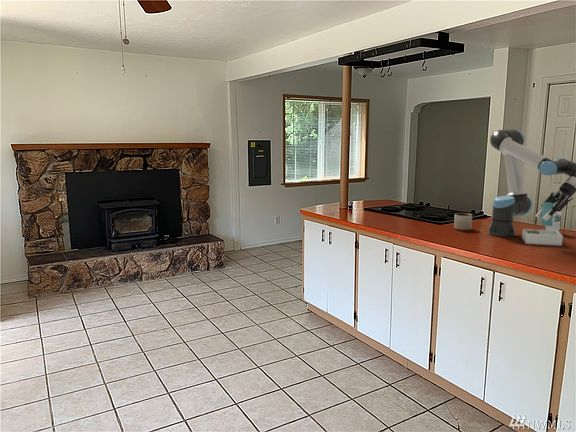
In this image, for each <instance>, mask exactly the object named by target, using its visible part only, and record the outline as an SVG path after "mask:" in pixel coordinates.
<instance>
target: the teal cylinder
mask: <svg viewBox="0 0 576 432" xmlns="http://www.w3.org/2000/svg"><path fill="white" fill-rule="evenodd" d="M542 203H543V202H542ZM541 207H542V206H541ZM552 207H554V204H553V203H549V202H545V203H543V207H542V208H541V209H542V217H541V223H540V224H541V225H542V226H545V227H546V226H551V225H552V218H553V215H552V216H551V217H550V218H549V219H548V220H547V221H545V220H544V219H543V217H544V216H545V214H546V213H547V212H548V211H549V210H550V209H552ZM552 210H553V209H552Z"/></svg>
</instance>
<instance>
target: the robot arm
mask: <svg viewBox="0 0 576 432" xmlns="http://www.w3.org/2000/svg"><path fill="white" fill-rule="evenodd" d="M489 138H490V139H489V143H490V145H491V147H492V148H494V149H495V150H497V151H499V152H501V154H503V156H504V165H505V171H506V172H505V173H506V180H507V181H506V182H507V190H508V193H507V194H506V195H500V196H497V197H495V198H493V202H492V215H491V223H490V225H489V228H488V230H487V234H488V235H490V236H494V237H501V238H503V237H504V238H511V237H515V236H516V228H515V226H514V217H517V216H518V217H519V216H525V215H527V214H529V213H530V212H531V211H532V209H533V200H532V199H531V198H530V197H529V196H528V192H527V191H525V187H524V180H523V171H522V163H521V161H522V162H524V163H525V164H527V165H529V166H531V167H533V168H535V169H537V170H539V173H540V174H541V175H543V176H553V175H554V176H555V175H566V176H568V178H566V179H565V180H564V182H563V183H562V184H561V185H560V186H559V188H558V189H559V190H557V191H556V192H555V193H554V192H551V193H550V195H549V196H548V197H547V198H546V199H544V201H543V202H542V203H541V204H540V206H541V207H543V203H545V202H549V203H553V207H552V209H553V210H552V209H550V210H549V211H548V212H547V213H546V214H545V216H544V217H543V219H544V220H545V221H547V220H548V219H549V218H550V217H551V216H552V215H553V214H554V213H555V212H557V211H559V212H560V211H561V210H563V209H564V208H565V207H566V206H567V205H568V204H569V203H570V201H572V200H573V199H574V198H573V197H572V196H573V195H574V194H575V193H576V162H573V161H571V160H567V159H566V158H562V157H558V158H556V159H555V160H552V159H550V158H548V157H547V156H544V155H542V154H540V153H538V152H537V151H534V150H533V149H531V148H529V147H526V146H525V145H524V144H525V141H526V140H525V136H524V134H523V132H522V131H521V130H517V129H513V128H512V129H497V130H496V131H494V132H492V133H491V136H490V137H489ZM535 217H536V218H537V219H538V220H540V219H542V208H540V210H539V211H538V212H537V213H536V214H535Z"/></svg>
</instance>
